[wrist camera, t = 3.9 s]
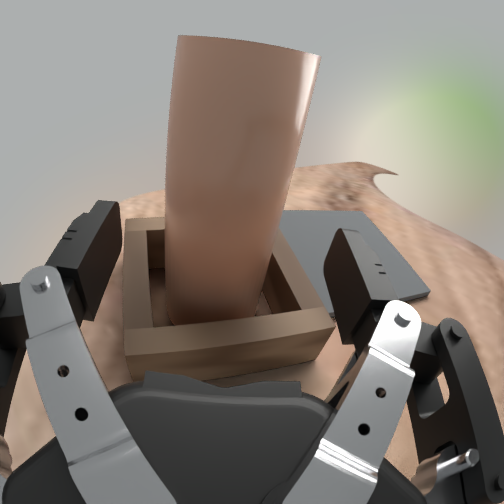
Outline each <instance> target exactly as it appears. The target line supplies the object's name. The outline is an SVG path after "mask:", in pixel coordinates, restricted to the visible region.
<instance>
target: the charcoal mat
mask: <svg viewBox="0 0 504 504" xmlns="http://www.w3.org/2000/svg"><path fill="white" fill-rule="evenodd" d="M339 228H343V229H350V230H356V231H359V233H360V234H361V236H362V238H363V240H364V242H365V245H369V246H370V247H371V248H372V249H373V251H374V252H375V253H376V254H377V255H378V257H379V259H380V261H381V263H382V266H383V267H384V269H385V271H386V275H388V277H389V279H390V282H391V284H392V286H393V288H394V290H395V292H396V294H397V297H398V299H399V301H402V302H404V301H408V300H412V299H416V298H420V297H424V296H428V294H429V293H430V289H429V288H428V287H427V286H426V284H425V283H424V282H423V281H422V279H421V278H420V277H419V276H418V274H417V273H416V272H415V271H414V270H413V268H412V267H411V266H410V265H409V264H408V262H407V261H406V260H405V259H404V258H403V256H402V255H401V254H400V253H399V252H398V251H397V249H396V248H395V247H394V246H393V245H392V244H391V243H390V241H389V240H388V239H387V238H386V237H385V236H384V235H383V234H382V232H381V231H380V230H379V229H378V228H377V227H376V226H375V225H374V224H373V223H372V221H371V220H370V219H369V218H368V217H367V216H366V215H365V214H364V213H363V212H362V211H315V210H283V213H282V217H281V220H280V224H279V229H280V230H281V232H282V234H283V236H284V237H285V239H286V241H287V242H288V244H289V246H290V247H291V249H292V251H293V252H294V254H295V256H296V257H297V259H298V261H299V263H300V264H301V266H302V268H303V269H304V271H305V273H306V275H307V276H308V278H309V280H310V282H311V283H312V285H313V287H314V289H315V290H316V292H317V294H318V296H319V297H320V299H321V301H322V303H323V304H324V306H325V308H326V310H327V311H328V313H329V315H330V317H335V314H334V310H333V306H332V303H331V299H330V296H329V292H328V288H327V285H326V281H325V278H324V274H323V266H324V261H325V258H326V255H327V253H328V250H329V248H330V245H331V243H332V240H333V238H334V235H335V233H336V231H337V230H338V229H339Z"/></svg>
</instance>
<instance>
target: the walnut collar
mask: <svg viewBox="0 0 504 504" xmlns="http://www.w3.org/2000/svg"><path fill="white" fill-rule="evenodd" d="M149 268H165V217H154V218H134V219H126V220H125V235H124V256H123V331H124V352H125V358H126V361H127V365H128V368H129V371H130V374H131V377H132V380H133V382H136V381H144V377H145V371H146V370H147V371H154V372H161V373H169V374H177V375H184V376H187V377H190V378H193V379H196V380H199V381H204V380H211V379H218V378H225V377H231V376H237V375H243V374H249V373H254V372H260V371H265V370H270V369H275V368H280V367H284V366H289V365H294V364H298V363H303V362H307V361H311V360H315V359H316V358H317V356H318V355H319V353H320V352H321V350H322V349H323V347H324V345H325V344H326V342H327V340H328V339H329V337H330V335H331V334H332V332H333V331H334V329H335V327H336V326H335V324H334V322H333V320H332V319H331V317H330V315H329V313H328V311H327V310H326V308H325V306H324V304H323V303H322V301H321V299H320V297H319V296H318V294H317V292H316V290H315V289H314V287H313V285H312V283H311V282H310V280H309V278H308V276H307V275H306V273H305V271H304V269H303V268H302V266H301V264H300V263H299V261H298V259H297V257H296V256H295V254H294V252H293V251H292V249H291V247H290V246H289V244H288V242H287V241H286V239H285V237H284V236H283V234H282V232H281V230H280V229H279V228H278V232H277V235H276V239H275V243H274V247H273V250H272V254H271V258H270V261H269V265H268V269H267V272H266V276H265V280H264V283H263V287H262V290H263V292H264V295H265V297H266V299H267V302H268V304H269V306H270V309H271V311H272V313H273V314H272V315H265V316H257V317H250V318H242V319H234V320H225V321H216V322H207V323H198V324H188V325H177V326H166V327H154V326H153V317H152V307H151V295H150V283H149Z"/></svg>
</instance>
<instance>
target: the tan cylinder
mask: <svg viewBox="0 0 504 504" xmlns="http://www.w3.org/2000/svg"><path fill="white" fill-rule="evenodd" d="M320 61H321V56H318V55H314V54H310V53H307V52H302V51H298V50H294V49H289V48H284V47H280V46H274V45H269V44H263V43H257V42H250V41H244V40H236V39H227V38H218V37H205V36H187V35H179V36H178V40H177V47H176V56H175V62H174V71H173V80H172V89H171V99H170V100H171V101H170V111H169V123H168V138H167V156H166V178H165V281H166V305H167V313H168V316H169V318H170V320H171V321H172V323H173V324H174V325H175V326H177V325H188V324H198V323H207V322H216V321H225V320H234V319H242V318H250V317H254V316H255V312H256V309H257V305H258V301H259V298H260V294H261V291H262V287H263V283H264V280H265V276H266V272H267V269H268V265H269V261H270V258H271V254H272V250H273V247H274V243H275V239H276V235H277V232H278V228H279V224H280V220H281V217H282V213H283V209H284V205H285V201H286V198H287V194H288V190H289V186H290V182H291V178H292V174H293V171H294V167H295V162H296V159H297V155H298V150H299V147H300V143H301V139H302V135H303V130H304V127H305V123H306V119H307V115H308V110H309V106H310V103H311V98H312V94H313V90H314V86H315V82H316V78H317V73H318V69H319V65H320Z"/></svg>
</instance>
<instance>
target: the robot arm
mask: <svg viewBox="0 0 504 504" xmlns="http://www.w3.org/2000/svg"><path fill="white" fill-rule="evenodd" d="M121 248H122V229H121V219H120V208H119V203H118V202H115V201H102V200H98V201H97V202H96V203H95V205H94V206H93V208H92V209H91V211H90V212H89V213H83V214H82V215H80V216H79V217H77V218H76V219H75V220H74V221H73V222H72V223H71V225H70V226H69V228H68V229H67V232H65V234H64V235H63V237H62V239H61V240H60V242H59V243H58V244H57V246H56V248H55V249H54V251H53V253H52V254H51V256H50V257H49V259H48V261H47V262H46V264H45V266H39V267H36V268H34V269H32V270H30V271H29V272H28V273H26V274H25V276H24V277H23V278H22V280H21V282H20V283H12V284H4V285H2V284H1V282H0V504H498V503H501V502H503V501H504V435H503V431H502V427H501V423H500V420H499V416H498V413H497V410H496V407H495V403H494V400H493V397H492V394H491V391H490V388H489V385H488V383H487V380H486V377H485V374H484V372H483V369H482V366H481V364H480V361H479V359H478V356H477V354H476V351H475V349H474V346H473V344H472V342H471V339H470V337H469V335H468V333H467V331H466V329H465V328H464V327H463V325H462V324H460V323H459V322H458V321H456V320H454V319H452V318H445V319H443V320H442V321H441V322H440V324H439V325H438V326H437V327H436V326H433V325H430V324H427V323H424V322H421V319H420V317H419V315H418V313H417V312H416V311H415V310H414V309H413V308H412V307H411V306H410V305H408V304H407V303H404V302H402V301H399V299H398V297H397V294H396V292H395V290H394V288H393V286H392V284H391V282H390V279H389V277H388V275H386V271H385V269H384V267H383V266H382V263H381V261H380V259H379V257H378V255H377V254H376V253H375V252H374V251H373V249H372V248H371V247H370V246H369V245H365V242H364V240H363V238H362V236H361V234H360V233H359V231H356V230H350V229H343V228H339V229H338V230H337V231H336V233H335V235H334V238H333V240H332V243H331V245H330V248H329V250H328V253H327V255H326V258H325V261H324V266H323V274H324V278H325V281H326V285H327V288H328V292H329V296H330V299H331V303H332V306H333V310H334V314H335V318H336V321H337V325H338V329H339V333H340V337H341V341H342V345H348V344H354V346H355V351H354V352H353V353H352V355H351V357H350V359H349V360H348V362H347V364H346V366H345V368H344V370H343V371H342V373H341V375H340V377H339V378H338V380H337V382H336V384H335V385H334V387H333V389H332V390H331V392H330V393H329V395H328V396H327V397H326V399H325V400H324V401H323V400H321V399H319V398H317V397H315V396H313V395H310V394H307V393H304V392H301V385H300V381H261V382H256V383H250V384H245V385H240V386H234V387H228V388H222V387H218V386H215V385H211V384H208V383H205V382H202V381H199V380H196V379H193V378H190V377H187V376H184V375H177V374H169V373H161V372H154V371H147V370H146V371H145V377H144V381H136V382H131V383H128V384H125V385H122V386H119V387H117V388H115V389H113V390H111V391H110V392H109V391H108V389H107V387H106V385H105V383H104V381H103V379H102V377H101V375H100V373H99V371H98V369H97V367H96V365H95V362H94V360H93V358H92V356H91V354H90V351H89V349H88V347H87V344H86V342H85V340H84V337H83V335H82V332H81V330H80V326H81V323H82V320H88V321H93V322H94V319H95V316H96V313H97V310H98V308H99V305H100V302H101V300H102V297H103V294H104V292H105V289H106V287H107V284H108V281H109V279H110V276H111V274H112V272H113V269H114V267H115V264H116V262H117V259H118V257H119V255H120V252H121ZM26 349H27V351H28V355H29V359H30V363H31V366H32V370H33V373H34V377H35V380H36V383H37V386H38V389H39V392H40V395H41V398H42V401H43V404H44V407H45V409H46V412H47V415H48V417H49V420H50V422H51V425H52V427H53V430H54V432H55V434H56V436H55V437H54V438H53V439H52V440H51V441H49V442H48V443H47V444H46V445H45V446H43V447H42V448H41V449H40V450H39V451H37V452H36V453H35V454H34V455H32V456H31V457H30V458H29V459H28V460H26V461H25V462H24V463H23V464H22V465H20V466H19V467H18V468H17V469H15V470H14V471H13V472H12V470H11V464H12V457H11V455H10V452H9V447H8V445H7V442H6V441H5V439H4V432H5V427H6V422H7V418H8V413H9V409H10V404H11V400H12V396H13V392H14V389H15V385H16V381H17V378H18V374H19V371H20V368H21V365H22V361H23V358H24V355H25V352H26ZM442 372H444V375H445V378H446V381H447V385H448V388H449V393H450V395H449V399H448V402H447V403H446V404H445V403H444V400H443V396H442V393H441V389H440V386H439V383H438V379H437V377H438V376H439V375H440V374H441V373H442ZM406 401H407V405H408V410H409V414H410V419H411V423H412V428H413V433H414V438H415V444H416V449H417V455H418V461H419V466H418V468H417V470H416V475H414V476H413V477H412V478H411V482H410V481H409V480H408V479H407V478H406V477H405V476H404V475H403V474H402V473H400V472H399V471H398V470H397V469H396V468H395V467H394V466H393V465H392V464H391V463H390V462H389V461H388V460H387V459H385V458H384V455H385V453H386V451H387V449H388V446H389V444H390V442H391V439H392V437H393V435H394V432H395V430H396V427H397V425H398V422H399V419H400V417H401V414H402V411H403V409H404V406H405V403H406Z"/></svg>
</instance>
